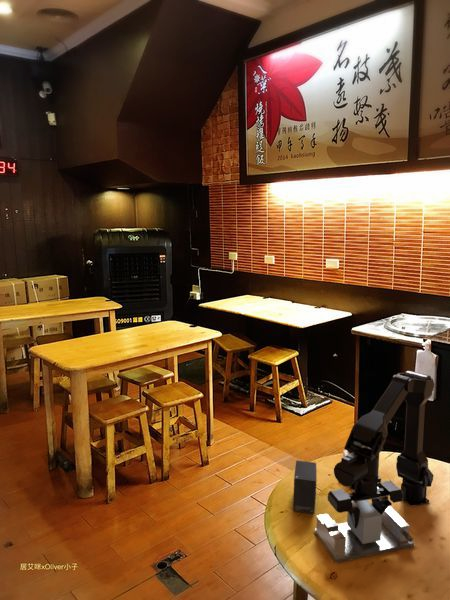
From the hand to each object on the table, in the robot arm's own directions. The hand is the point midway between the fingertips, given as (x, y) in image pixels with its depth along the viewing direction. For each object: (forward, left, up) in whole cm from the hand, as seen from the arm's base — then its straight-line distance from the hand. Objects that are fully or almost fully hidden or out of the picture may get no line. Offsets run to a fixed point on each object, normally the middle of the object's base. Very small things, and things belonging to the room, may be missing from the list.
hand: (363, 525), depth 124 cm
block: (0, 0, -2) cm, 2 cm away
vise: (0, 0, -4) cm, 4 cm away
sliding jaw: (-9, 0, -3) cm, 9 cm away
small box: (+8, -19, -4) cm, 21 cm away
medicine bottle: (-14, -28, -4) cm, 31 cm away
